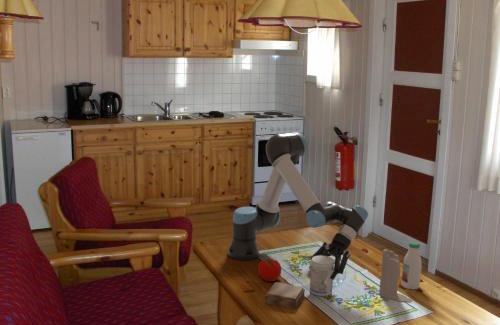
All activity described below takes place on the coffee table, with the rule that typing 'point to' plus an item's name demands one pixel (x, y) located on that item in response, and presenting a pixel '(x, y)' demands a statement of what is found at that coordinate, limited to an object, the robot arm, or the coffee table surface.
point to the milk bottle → (412, 267)
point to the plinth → (285, 295)
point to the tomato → (269, 269)
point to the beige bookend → (391, 277)
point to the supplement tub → (321, 275)
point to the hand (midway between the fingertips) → (316, 280)
